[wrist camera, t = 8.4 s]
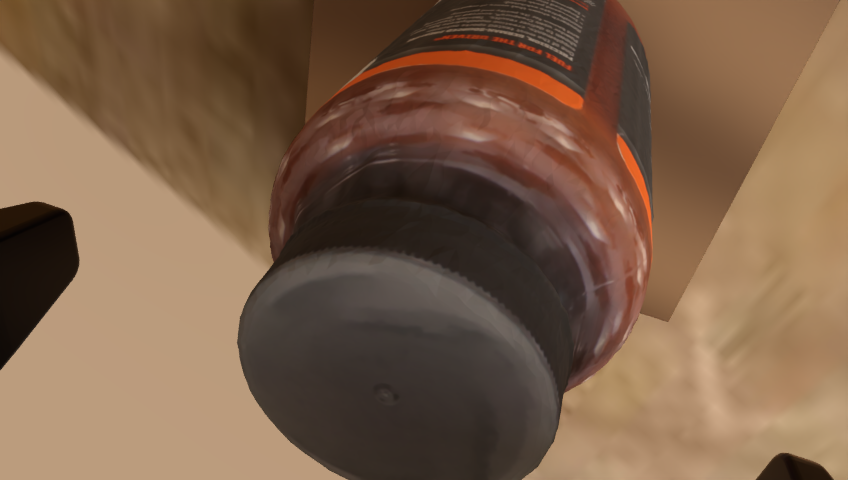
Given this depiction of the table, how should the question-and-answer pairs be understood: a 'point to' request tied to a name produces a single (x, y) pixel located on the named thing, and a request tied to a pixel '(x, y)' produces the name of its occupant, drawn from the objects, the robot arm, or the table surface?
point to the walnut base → (670, 103)
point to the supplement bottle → (457, 242)
